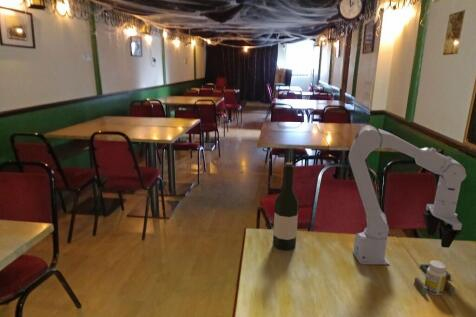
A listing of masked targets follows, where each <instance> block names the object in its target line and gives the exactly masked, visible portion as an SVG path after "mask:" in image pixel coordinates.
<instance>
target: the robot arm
mask: <svg viewBox="0 0 476 317" xmlns="http://www.w3.org/2000/svg"><path fill="white" fill-rule="evenodd" d="M378 147H379V148H380V149H384V148H385V149H386V148H392V149H394V150H396V151H398V152H400V153H403V154H405V155H407V156H409V157H411V158H414V160H415V164H416V165H418V166H419V167H422V168H424V169H426V170H427V171H430V172H431V173H433V174H436V175H439V179H438V182H437V186H436V193H435V196H434V201H433V202H434V203H427V204H426V208H425V210H426V211H423V212H422V215H423V218H424V220H425V227H426V235H427V236H435V235H436V233H437V229H438V226H439V227H440V231H441V232H440V233H441V241H440V245H441V246H440V247H441V248H448V249H449V248H450V246H451V245H452V243H453V242H454V240H455V239H456V237H458V235H460V233H462V232H463V228H462V225H463V223H462V222H460V221H459V220H458V213H456V210H457V203H458V200H459V195H460V190H461V184H462V182H463V181H464V180H465V179H466V178H467V174H466V173H467V172H466V168H465V166H463V165H462V164H461V163H460V162H458V161H457V160H455V159H454V158H452V157H451V156H450V155H449V156H448V155H447V156H446V155H444V154H442V153H440V152H437V149H436V148H434V147H431V148H430V147H427V146H425V147H422V148H419V147H417V146H416V145H414V144H411V143H410V142H408V141H406V140H404V139H402V138H401V137H399V136H397V135H395V134H393V133H391V132H389V131H386V130H384V129H380V128H378V129H377V127H375V126H373V125H369V124H368V125H364V126H362V127H361V128H360V129H358V131H357V132H356V133H355V135H354V138H353V141H352V143H351V147H350V150H349V153H348V162H349V164H350V168H351V171H352V174H353V177H354V180H355V184H356V186H357V190H358V192H359V196H360V199H361V202H362V205H363V208H364V212H365V220H366V224H367V225H366V227H365V228H364V230H363V231H362V232H358V233H356V234H355V236H354V243H353V250H352V253H353V255H354V257H355V258H356V260H357V261H358V263H359V264H360V265H390V262H389V261H388V259H387V258H386V257H385V256H386V250H387V243H388V236H389V233H390V228H389V225H388V220H387V216H386V213H385V212H383V211H382V209H381V206H380V203H379V201H378V199H377V194H376V192H375V188H374V185H373V182H372V179H371V177H370V172H369V169H368V167H367V163H366V159H367V158H368V156H369V155H370V153H372V152H373V151H374V150H376V149H377V148H378ZM440 221H443V222H445V223H446V224H440V225H439V223H440Z"/></svg>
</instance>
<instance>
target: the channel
mask: <svg viewBox="0 0 476 317" xmlns="http://www.w3.org/2000/svg"><path fill="white" fill-rule="evenodd" d="M413 285H414V287H415V288H416V289H417V290H418V291H419V293H420V294H421V295H422V296H424V297H425V296H427V293H428V292H427V289H428V288H427V287H426V286H425V283H424V282H423V281H422V280H421V279H420V278H419V277H414V282H413ZM444 291H446V293H448V294H449V295H450V296H452V297H453V296H455V292H456V287H455V286H454V285H453V284H452V283H450V281H448V279H445V285H444Z"/></svg>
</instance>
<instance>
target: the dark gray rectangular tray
mask: <svg viewBox="0 0 476 317" xmlns="http://www.w3.org/2000/svg"><path fill="white" fill-rule="evenodd" d="M429 264H430V263H429ZM429 264H427V263H426V264H424V263H422V264H420V265H419V269H420V270H421V271H423V273H424V274H426V273H427V268H428V267H429ZM445 272H446V280H448V279H449V280H451V277H452V275H451V274H450V273H449V272H448V271H447V270H445Z"/></svg>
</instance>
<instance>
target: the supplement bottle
mask: <svg viewBox="0 0 476 317" xmlns="http://www.w3.org/2000/svg"><path fill="white" fill-rule="evenodd" d="M446 268H447V265H446V264H445V263H444V262H442V261H439V260H431V261H430V262H429V267H428V268H427V273H425V279H424V285H425V286H426V287H427V288H428V289H427V293H429V294H431V295H435V296H441V295H443V293H444V291H445V289H444V285H445V279H446V272H445V270H446ZM446 271H447V270H446ZM446 280H447V279H446Z"/></svg>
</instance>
